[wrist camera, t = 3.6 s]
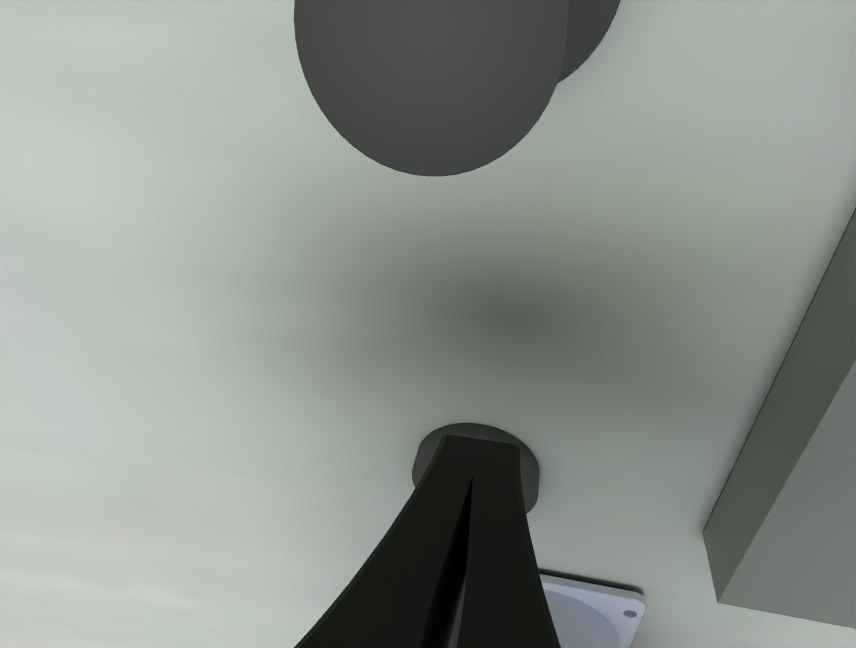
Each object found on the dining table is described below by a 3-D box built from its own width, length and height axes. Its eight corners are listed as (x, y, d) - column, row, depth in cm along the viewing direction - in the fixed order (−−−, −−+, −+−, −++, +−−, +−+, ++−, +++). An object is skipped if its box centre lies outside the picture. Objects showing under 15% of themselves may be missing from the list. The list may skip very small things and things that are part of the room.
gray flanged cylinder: (532, 515, 21) (515, 775, 15) (418, 496, 22) (353, 734, 15) (546, 434, 18) (531, 706, 12) (415, 414, 19) (337, 660, 13)
